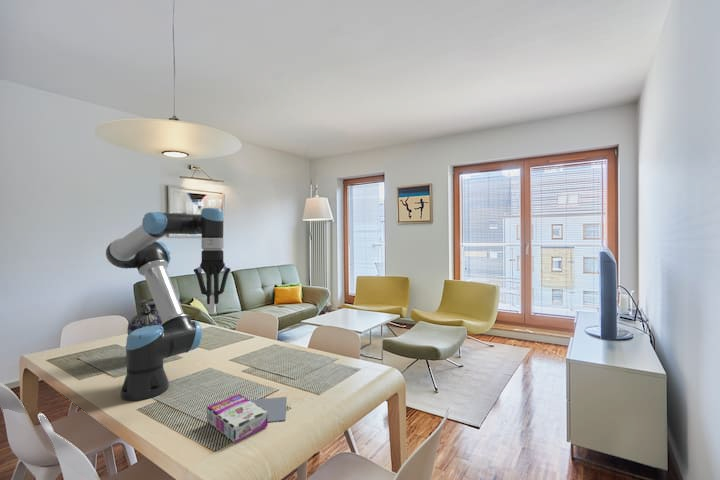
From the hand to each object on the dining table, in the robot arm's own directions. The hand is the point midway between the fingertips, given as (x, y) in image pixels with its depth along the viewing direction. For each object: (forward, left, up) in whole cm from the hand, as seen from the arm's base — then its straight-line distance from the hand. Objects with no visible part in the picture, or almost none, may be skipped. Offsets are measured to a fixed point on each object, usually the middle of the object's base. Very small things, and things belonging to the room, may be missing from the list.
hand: (212, 312), depth 128 cm
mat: (+18, -19, -29) cm, 39 cm away
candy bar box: (+7, -20, -26) cm, 34 cm away
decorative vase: (-39, +47, -30) cm, 68 cm away
